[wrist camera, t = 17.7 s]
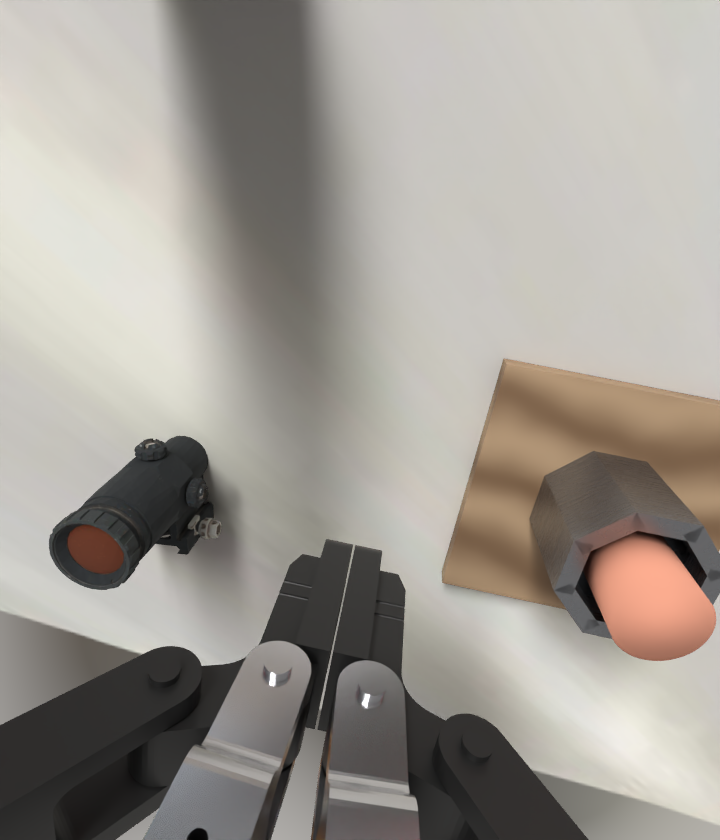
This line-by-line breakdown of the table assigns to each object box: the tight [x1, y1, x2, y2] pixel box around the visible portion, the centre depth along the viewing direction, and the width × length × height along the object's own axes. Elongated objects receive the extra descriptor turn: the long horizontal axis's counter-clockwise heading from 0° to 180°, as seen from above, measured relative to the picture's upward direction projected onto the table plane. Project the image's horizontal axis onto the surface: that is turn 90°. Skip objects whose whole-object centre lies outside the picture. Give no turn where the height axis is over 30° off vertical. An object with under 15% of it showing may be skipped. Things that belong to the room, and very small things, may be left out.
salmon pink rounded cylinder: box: [583, 531, 716, 661], centre depth 32 cm, size 6×6×6 cm
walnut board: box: [442, 359, 720, 609], centre depth 41 cm, size 20×20×2 cm
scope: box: [49, 436, 222, 590], centre depth 39 cm, size 8×14×10 cm
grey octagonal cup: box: [529, 451, 720, 639], centre depth 36 cm, size 10×10×8 cm
